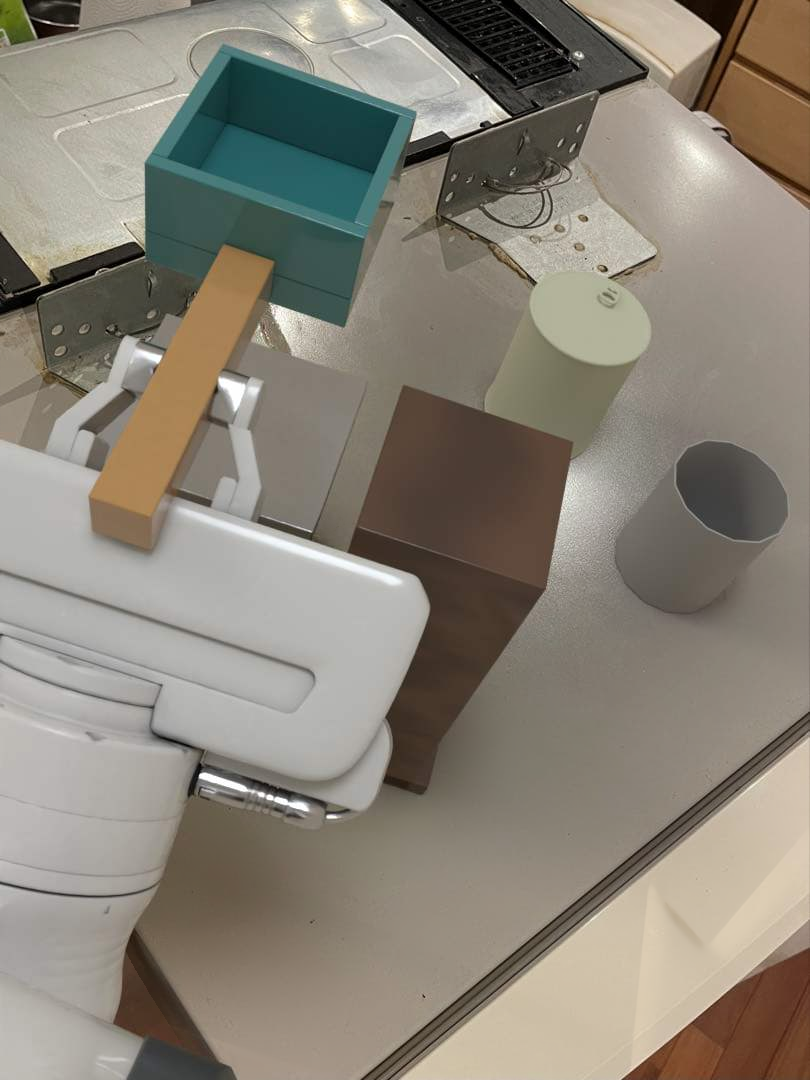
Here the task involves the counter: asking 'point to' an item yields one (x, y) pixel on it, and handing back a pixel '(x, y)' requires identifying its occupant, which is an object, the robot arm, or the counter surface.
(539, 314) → the can
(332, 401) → the scale
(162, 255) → the teal handled box
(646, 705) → the counter surface
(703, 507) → the cup
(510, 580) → the plinth
